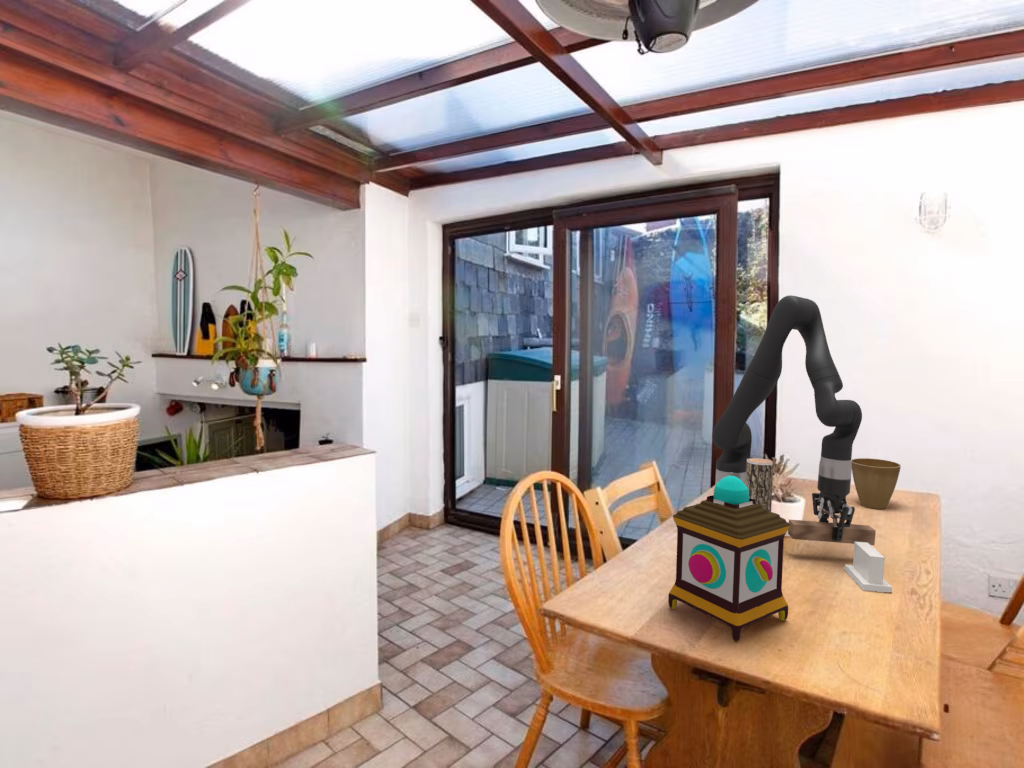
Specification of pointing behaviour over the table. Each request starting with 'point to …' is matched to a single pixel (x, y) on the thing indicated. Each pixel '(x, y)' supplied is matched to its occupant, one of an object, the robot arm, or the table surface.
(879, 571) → the white pedestal block
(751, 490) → the log stump
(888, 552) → the table surface
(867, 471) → the plant pot
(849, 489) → the robot arm
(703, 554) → the decorative lantern
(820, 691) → the table surface
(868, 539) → the walnut bar
